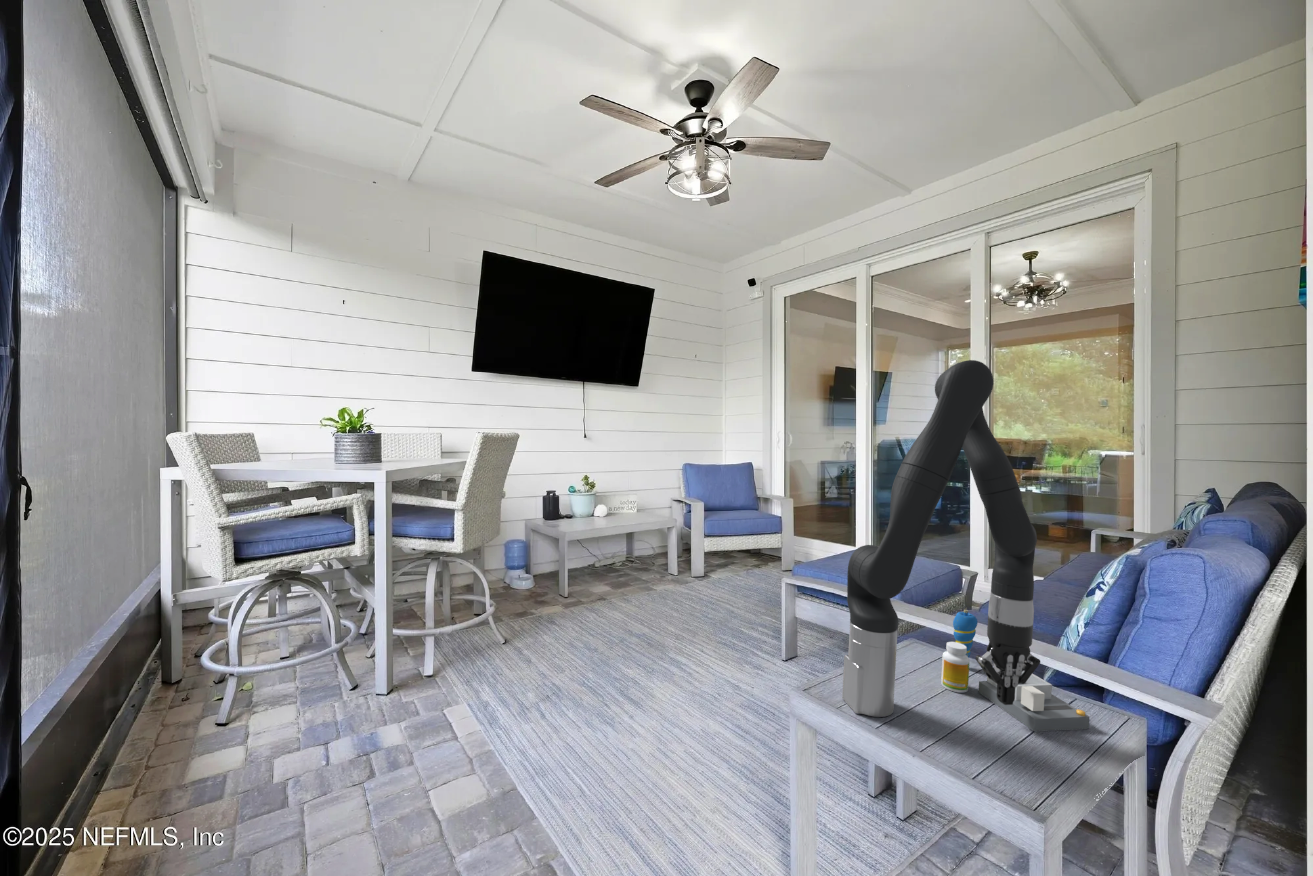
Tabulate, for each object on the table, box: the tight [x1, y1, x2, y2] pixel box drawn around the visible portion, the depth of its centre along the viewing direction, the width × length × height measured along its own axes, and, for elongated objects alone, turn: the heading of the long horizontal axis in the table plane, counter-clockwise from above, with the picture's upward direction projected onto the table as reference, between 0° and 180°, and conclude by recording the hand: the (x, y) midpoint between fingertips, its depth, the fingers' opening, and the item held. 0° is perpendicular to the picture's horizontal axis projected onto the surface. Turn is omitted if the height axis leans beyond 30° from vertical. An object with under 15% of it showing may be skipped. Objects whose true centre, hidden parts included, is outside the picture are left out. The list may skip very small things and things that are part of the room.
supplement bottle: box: [940, 641, 971, 694], centre depth 121 cm, size 5×5×10 cm
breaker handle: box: [1021, 686, 1045, 711], centre depth 108 cm, size 2×3×4 cm
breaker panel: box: [978, 671, 1090, 733], centre depth 112 cm, size 12×15×6 cm
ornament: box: [952, 607, 978, 659], centre depth 131 cm, size 5×5×15 cm
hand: (1005, 702), depth 107 cm, fingers closed
